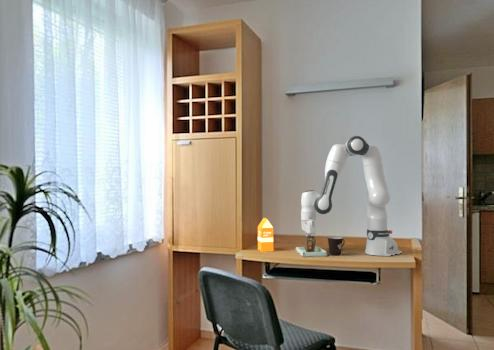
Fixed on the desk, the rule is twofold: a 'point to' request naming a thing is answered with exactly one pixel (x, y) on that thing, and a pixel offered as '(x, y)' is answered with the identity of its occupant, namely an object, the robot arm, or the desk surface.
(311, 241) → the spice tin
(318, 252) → the tray
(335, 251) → the coffee mug
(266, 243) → the orange juice
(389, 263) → the desk surface
